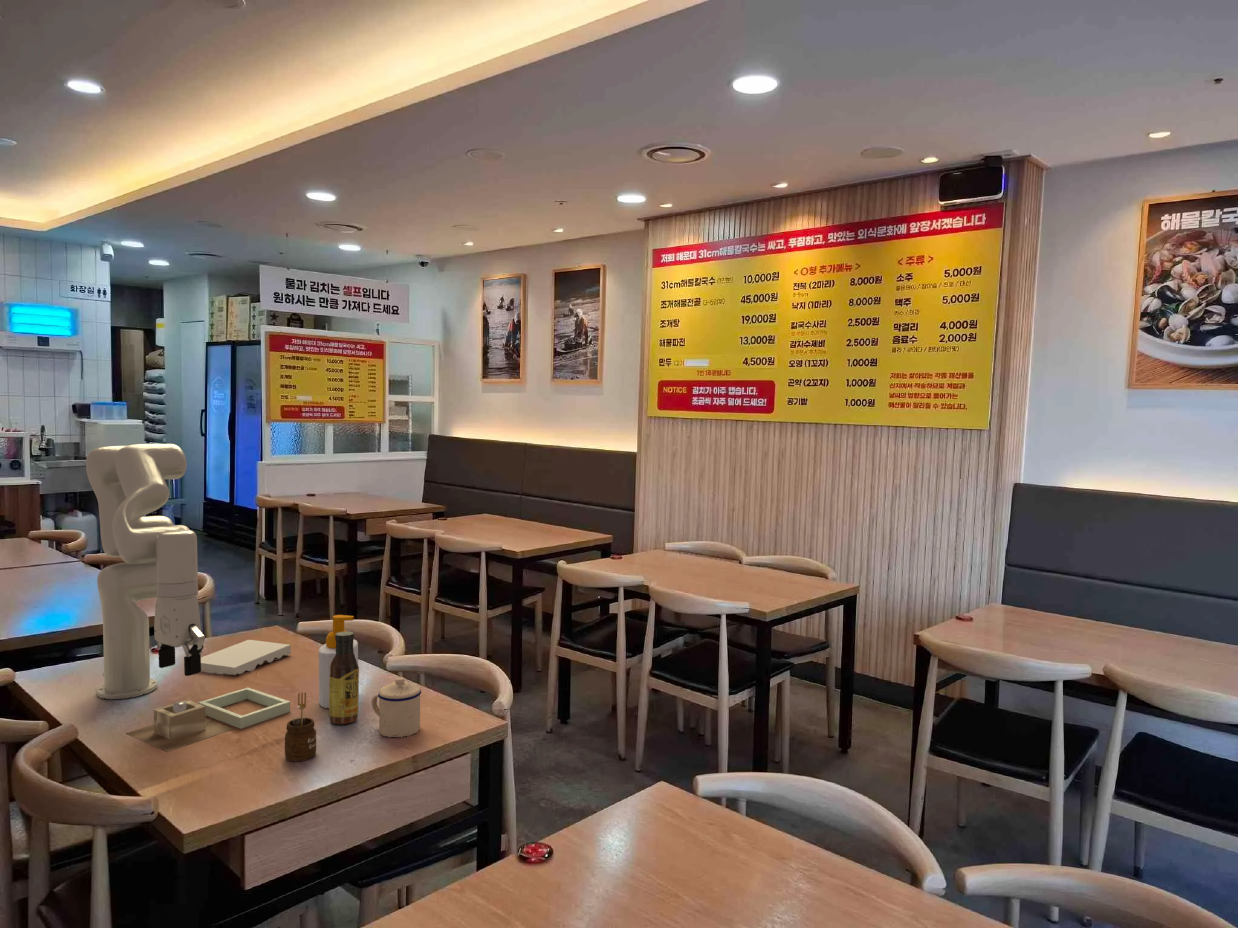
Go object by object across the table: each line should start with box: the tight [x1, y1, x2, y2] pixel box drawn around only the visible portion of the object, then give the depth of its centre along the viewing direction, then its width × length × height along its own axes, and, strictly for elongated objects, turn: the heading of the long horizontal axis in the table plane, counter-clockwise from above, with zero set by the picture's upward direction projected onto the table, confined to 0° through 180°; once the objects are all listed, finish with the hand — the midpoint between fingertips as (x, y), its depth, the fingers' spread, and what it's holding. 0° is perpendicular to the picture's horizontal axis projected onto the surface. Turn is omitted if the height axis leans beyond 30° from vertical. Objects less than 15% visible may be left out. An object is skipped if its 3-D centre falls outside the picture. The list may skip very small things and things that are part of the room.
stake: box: [172, 700, 186, 714], centre depth 169 cm, size 2×2×6 cm
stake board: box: [125, 717, 234, 753], centre depth 170 cm, size 16×14×2 cm
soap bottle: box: [318, 614, 359, 709], centre depth 193 cm, size 13×8×20 cm, turn 178°
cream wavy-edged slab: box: [201, 639, 292, 676], centre depth 220 cm, size 15×3×20 cm
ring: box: [153, 699, 206, 741], centre depth 169 cm, size 7×7×5 cm
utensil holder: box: [284, 692, 317, 762], centre depth 162 cm, size 6×6×12 cm
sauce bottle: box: [328, 630, 360, 725], centre depth 180 cm, size 7×6×20 cm
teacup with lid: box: [371, 677, 422, 738], centre depth 176 cm, size 12×9×12 cm
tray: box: [197, 687, 291, 730], centre depth 181 cm, size 16×12×4 cm
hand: (179, 670), depth 168 cm, fingers open, 9 cm apart
